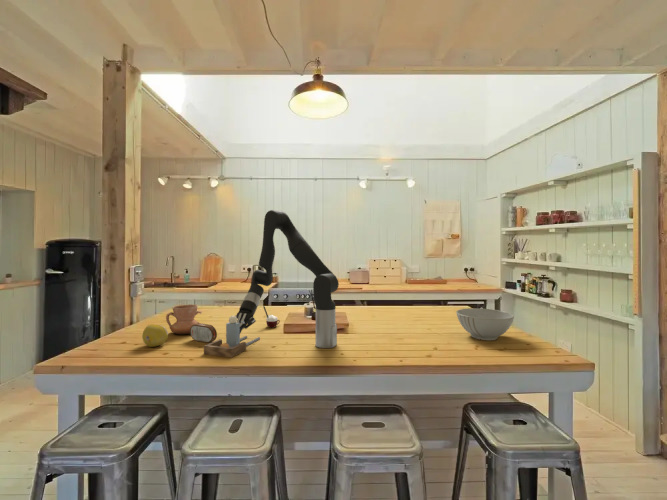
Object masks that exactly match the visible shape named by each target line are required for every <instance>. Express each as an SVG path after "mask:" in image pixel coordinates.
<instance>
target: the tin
mask: <svg viewBox="0 0 667 500" xmlns="http://www.w3.org/2000/svg"><path fill="white" fill-rule="evenodd" d="M190 333H191V334H190V337H191V338H192V339H193V341H196V342H201V343H207V344H210V343H212V342H214V341H217V337H218V332H217V329H216V327H214V326H213V325H212V324H207V323H200V322H199V323H197V324H194V325H193V326H192V327H191V328H190Z"/></svg>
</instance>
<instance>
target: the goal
mask: <svg viewBox="0 0 667 500" xmlns="http://www.w3.org/2000/svg"><path fill="white" fill-rule="evenodd" d="M246 343H247V341H241V342H240V344H238V345H236V346H234V347H231V348H229V347H220V346H221V344H223V340H222V339H216V340H215V341H213V342H210V343H207V344H205V345H203V354H204V355H209V356H217V357H218V356H219V357H224V358H225V357H226V358H234V357H236V356H238V355H239V354H241V353H243V352H245V351H246V350H247V346H246Z"/></svg>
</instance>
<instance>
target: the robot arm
mask: <svg viewBox="0 0 667 500" xmlns="http://www.w3.org/2000/svg"><path fill="white" fill-rule="evenodd" d="M263 220H264V221H263V236H262V244H261V245H262V246H261V252H260V256H259V259H258V260H259V261H258V265H259V267H260V268H262V269H264V270H265V271H264V270H261V269H256V270H254V271H253V273H252V276H251V283H250V287H249V289H248V290H247V293H246V295H245V297H244V298H243V300H242V303H241V305H240V306H239V310H238V312H237V313H236V314H235V316H236V318H237V322H236V323H240V334H241V333H242V331H243V330H244V329H245V330H246V329H248V328H249V327H251V326H252V325H254V324H255V323H256V321H257V320H256V318H255V317H254V316H255V313H256V311H257V309H258V308H259V305H260V301H261V298H262V296H263V294H264V287H262V286H265V287H269V286H270V285H271V284H272V282H273V276H274V275H273V264H274V260H275V256H276V247H275V242H274V235H275V231H276V230H280V231H281V232H282V234H283V235H284V236H285V238H286V240H287V245H288V250H289V252H290V253H291V254H292V256H293V257H294V259H295V260H296V261H297V262H298V263H299V264H301V265H302V266H304V267H305V268H306V269H308V270H309V271H310V272H312V274H313V275H314V276H315V278H314V280H313V284H312V285H313V286H312V287H313V288H312V289H313V291H312V293H313V302H314V305H315V347H317V348H320V349H333V348H335V347H336V346H337V344H338V340H337V339H338V335H337V334H338V325H337V324H336V302H335V301H334V300H333V299H332V293H334V292H337V290H338V288H339V279H338V278H337V276H336V275H335V274H334V273H333V272H332V271H331V270H330V269H329V267H328V266H326V265H325V264H324V262H323V261H322V260H321V259H320V257H319V255H317V253H316V252H315V250H313V247H311V245H310V244H309V243H308V242H307V240H306V239H305V238H304V237H303V236H302V234H301V233H300V232H299V230H298V229H297V228H296V227H295V225H294V223H293V222H292V220H291V219H290V217H289V215H288V214H287V213H286V212H284V211H283V210H274V209H271V210H268V211H267V212H266V214H265V216H264V219H263Z"/></svg>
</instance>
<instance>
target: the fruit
mask: <svg viewBox="0 0 667 500" xmlns="http://www.w3.org/2000/svg"><path fill="white" fill-rule="evenodd" d="M141 336H142V337H141V338H142V341H143V343H144V344H145V345H146V346H147V347H149V348H154V347H158V346H160V345H163V344H165V342H167V341H168V337H169V331H168V330H167V328H166V327H165V326H164V325H161V324H155V323H151V324H148V325H147V326H146V327H145V328H144V330H143V331H142V335H141Z"/></svg>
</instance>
